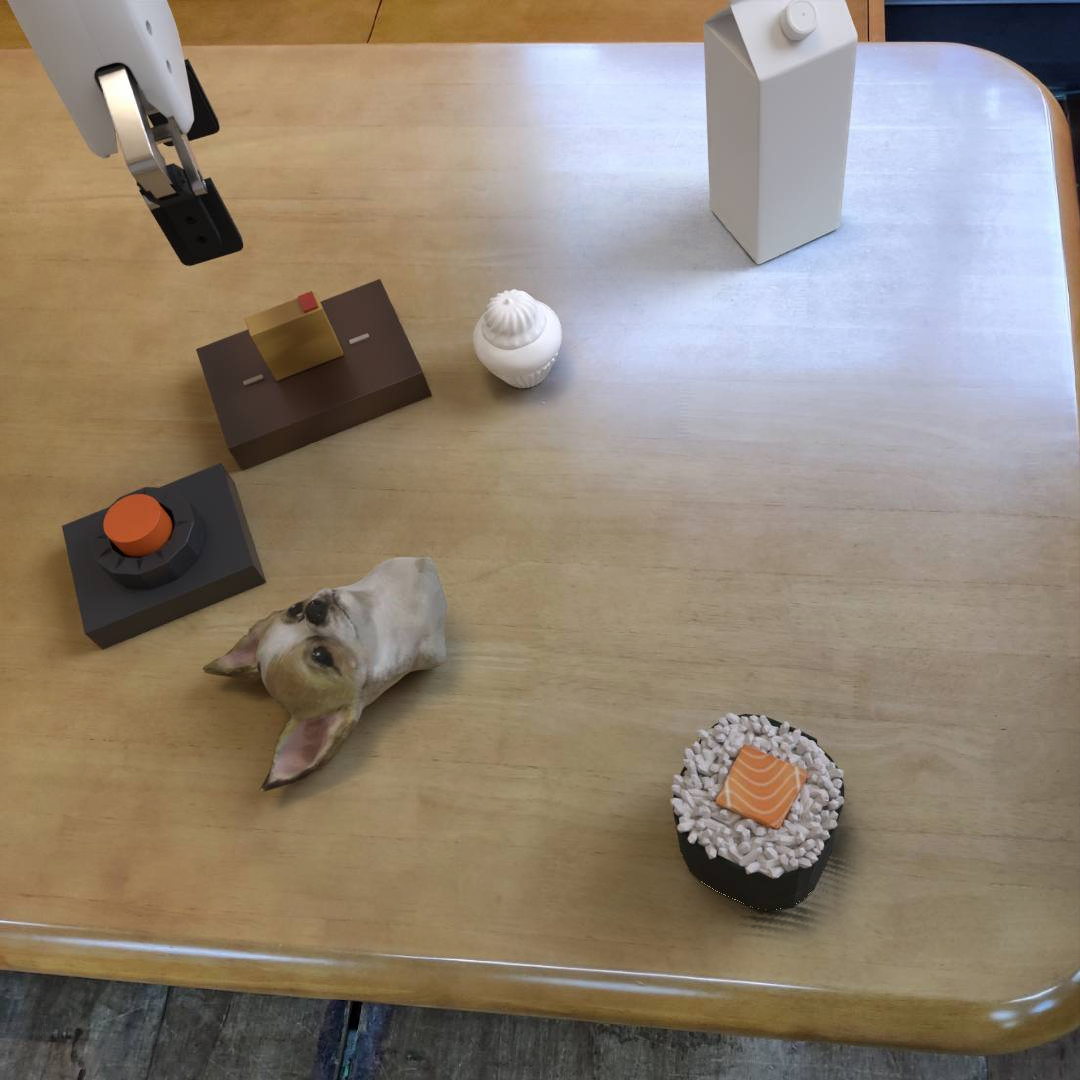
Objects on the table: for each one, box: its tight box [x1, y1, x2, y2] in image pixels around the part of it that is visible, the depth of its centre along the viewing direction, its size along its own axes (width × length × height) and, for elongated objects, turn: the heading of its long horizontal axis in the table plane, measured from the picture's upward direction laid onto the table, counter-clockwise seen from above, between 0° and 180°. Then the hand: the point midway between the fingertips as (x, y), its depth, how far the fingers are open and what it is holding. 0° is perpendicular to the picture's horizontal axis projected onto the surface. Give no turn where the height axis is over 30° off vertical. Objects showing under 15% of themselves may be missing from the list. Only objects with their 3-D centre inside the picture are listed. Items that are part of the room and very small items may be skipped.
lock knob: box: [244, 290, 344, 381], centre depth 75 cm, size 5×2×5 cm, turn 114°
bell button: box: [103, 494, 173, 557], centre depth 69 cm, size 4×4×2 cm
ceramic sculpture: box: [202, 555, 448, 793], centre depth 64 cm, size 11×9×15 cm
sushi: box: [669, 712, 845, 913], centre depth 57 cm, size 8×8×8 cm
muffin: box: [472, 288, 563, 389], centre depth 75 cm, size 6×6×7 cm
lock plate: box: [195, 278, 432, 472], centre depth 78 cm, size 14×10×3 cm
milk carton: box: [702, 0, 859, 265], centre depth 74 cm, size 7×7×19 cm
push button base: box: [61, 462, 267, 651], centre depth 71 cm, size 11×9×4 cm
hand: (203, 193), depth 58 cm, fingers open, 9 cm apart
